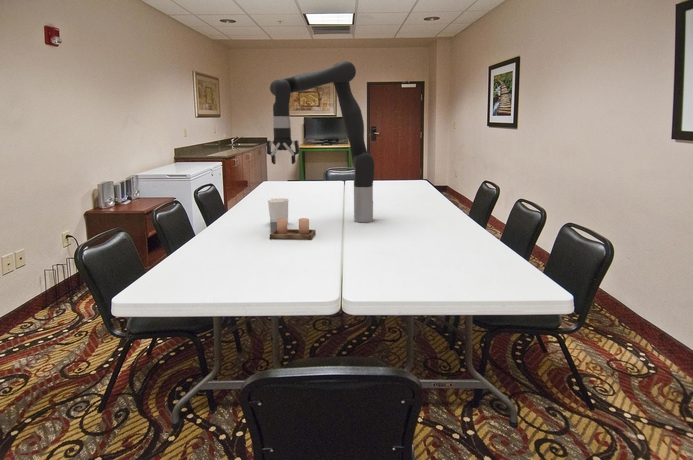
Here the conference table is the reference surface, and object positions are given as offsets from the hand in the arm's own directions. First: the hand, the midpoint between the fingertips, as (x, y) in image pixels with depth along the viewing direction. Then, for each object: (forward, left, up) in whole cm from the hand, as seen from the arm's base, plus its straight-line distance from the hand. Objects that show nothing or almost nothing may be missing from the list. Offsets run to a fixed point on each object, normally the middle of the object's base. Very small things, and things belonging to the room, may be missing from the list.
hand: (283, 164), depth 212 cm
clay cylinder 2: (-11, +13, -29) cm, 34 cm away
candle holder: (+6, -10, -30) cm, 32 cm away
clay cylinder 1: (-1, +13, -30) cm, 32 cm away
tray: (-6, +12, -30) cm, 33 cm away
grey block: (+4, +4, -30) cm, 31 cm away
